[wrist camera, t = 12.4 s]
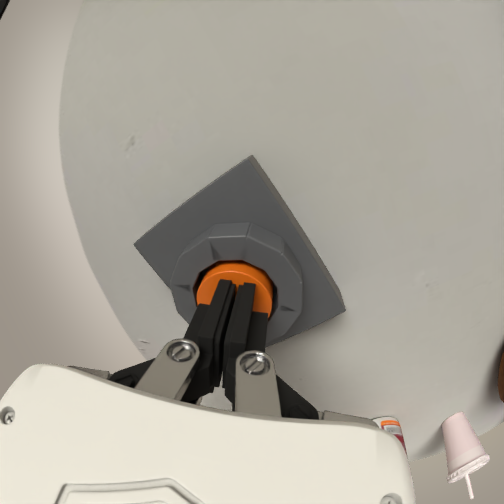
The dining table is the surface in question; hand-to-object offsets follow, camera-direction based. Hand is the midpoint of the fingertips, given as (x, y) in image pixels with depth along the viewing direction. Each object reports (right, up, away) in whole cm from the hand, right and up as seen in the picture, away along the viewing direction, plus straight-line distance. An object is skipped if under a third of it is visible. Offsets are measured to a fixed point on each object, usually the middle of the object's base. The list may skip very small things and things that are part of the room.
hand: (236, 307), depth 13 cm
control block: (0, +2, +4) cm, 5 cm away
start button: (0, +1, +2) cm, 2 cm away
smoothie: (+29, -21, +12) cm, 37 cm away
